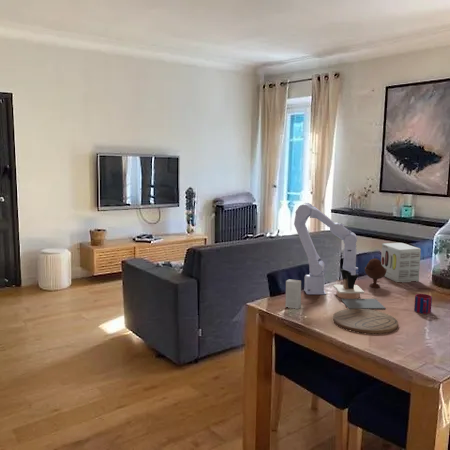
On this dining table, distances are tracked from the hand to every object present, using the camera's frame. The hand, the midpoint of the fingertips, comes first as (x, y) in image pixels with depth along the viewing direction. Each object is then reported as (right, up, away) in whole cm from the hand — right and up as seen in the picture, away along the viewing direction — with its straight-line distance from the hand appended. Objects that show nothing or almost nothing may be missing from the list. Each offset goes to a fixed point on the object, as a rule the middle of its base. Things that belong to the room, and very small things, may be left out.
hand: (348, 286), depth 221 cm
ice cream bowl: (+18, -3, +16) cm, 24 cm away
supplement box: (+37, 0, +33) cm, 49 cm away
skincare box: (-29, -7, -16) cm, 34 cm away
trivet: (-3, -11, -34) cm, 36 cm away
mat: (+3, -7, -12) cm, 14 cm away
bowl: (0, -5, +1) cm, 5 cm away
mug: (+26, -9, -22) cm, 35 cm away
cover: (0, -2, 0) cm, 2 cm away
